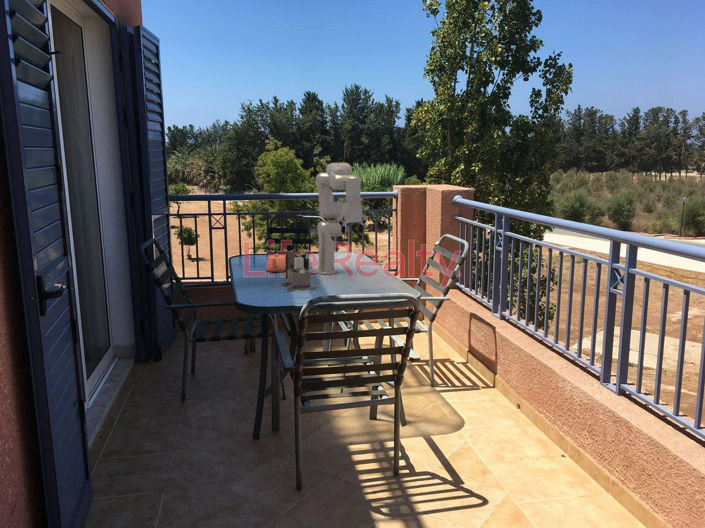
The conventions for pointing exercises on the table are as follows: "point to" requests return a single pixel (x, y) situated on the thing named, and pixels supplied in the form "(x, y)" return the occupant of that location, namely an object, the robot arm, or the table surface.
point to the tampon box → (291, 260)
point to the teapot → (276, 263)
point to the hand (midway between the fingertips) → (352, 233)
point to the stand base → (298, 280)
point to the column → (298, 264)
